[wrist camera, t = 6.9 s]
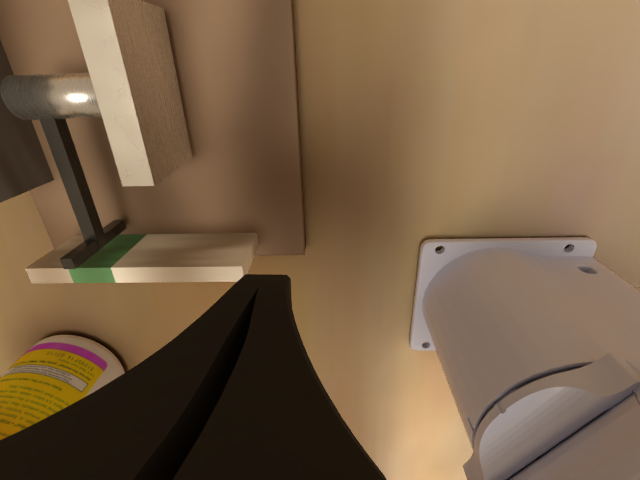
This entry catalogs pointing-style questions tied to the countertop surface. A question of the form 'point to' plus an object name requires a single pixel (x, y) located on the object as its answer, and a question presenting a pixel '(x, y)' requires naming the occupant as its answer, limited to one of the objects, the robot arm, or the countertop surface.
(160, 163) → the silver cylinder with block
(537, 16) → the countertop surface
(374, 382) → the countertop surface
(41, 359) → the supplement bottle
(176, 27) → the base
